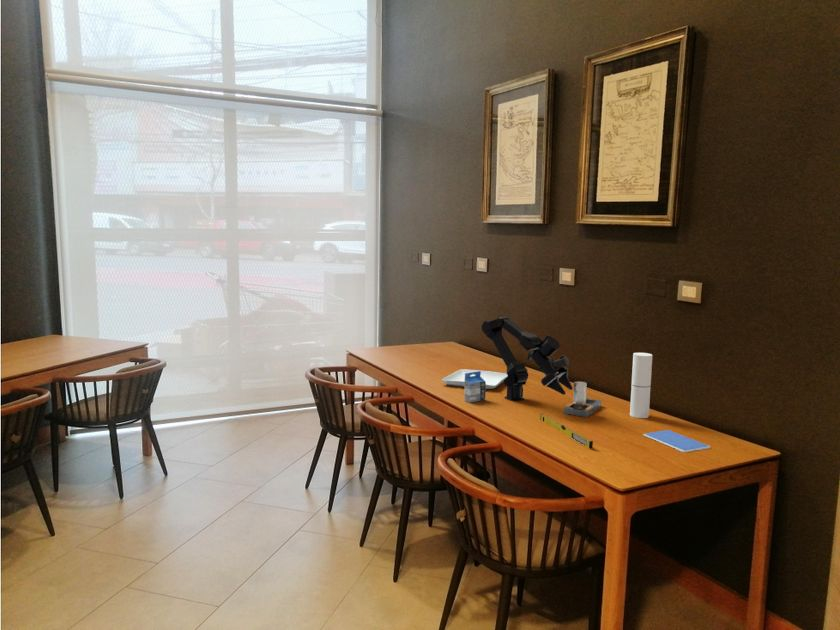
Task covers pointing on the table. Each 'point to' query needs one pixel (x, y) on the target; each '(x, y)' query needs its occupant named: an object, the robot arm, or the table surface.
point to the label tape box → (474, 387)
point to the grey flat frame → (590, 408)
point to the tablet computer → (677, 441)
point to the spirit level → (566, 431)
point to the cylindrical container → (641, 385)
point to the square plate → (488, 376)
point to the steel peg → (579, 395)
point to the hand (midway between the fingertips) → (568, 391)
